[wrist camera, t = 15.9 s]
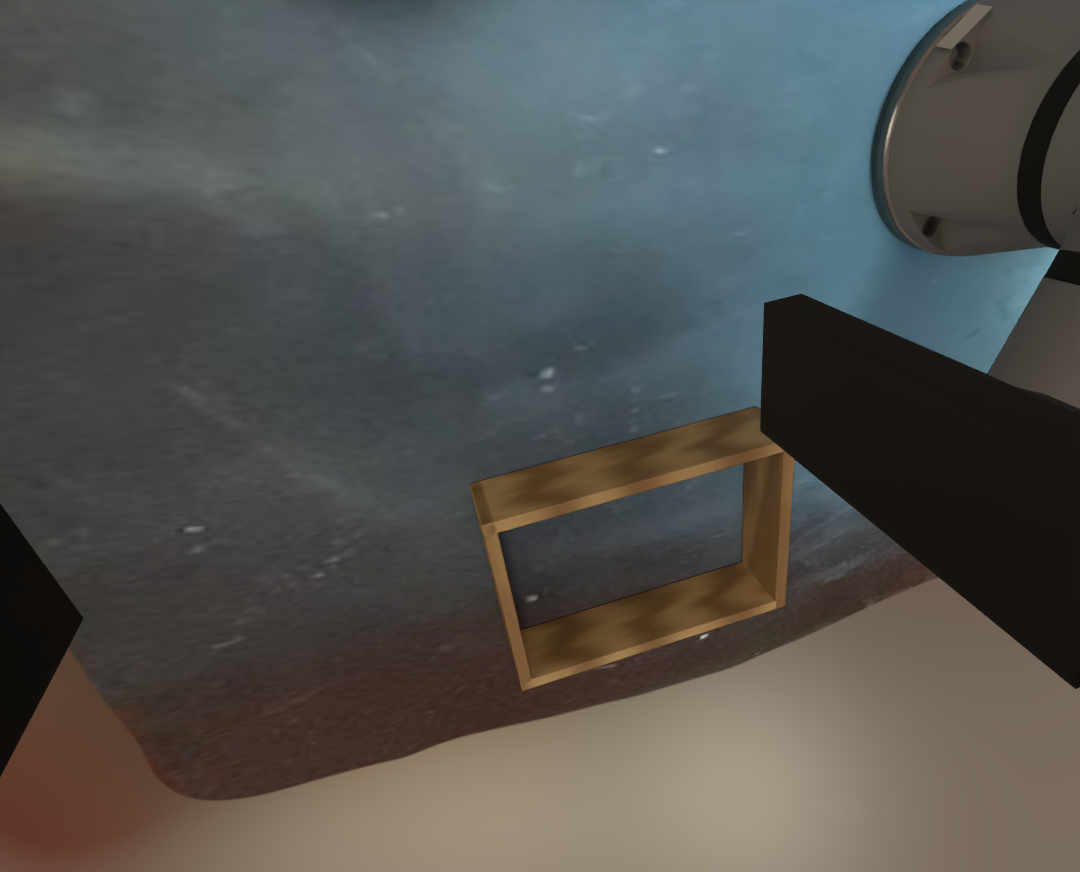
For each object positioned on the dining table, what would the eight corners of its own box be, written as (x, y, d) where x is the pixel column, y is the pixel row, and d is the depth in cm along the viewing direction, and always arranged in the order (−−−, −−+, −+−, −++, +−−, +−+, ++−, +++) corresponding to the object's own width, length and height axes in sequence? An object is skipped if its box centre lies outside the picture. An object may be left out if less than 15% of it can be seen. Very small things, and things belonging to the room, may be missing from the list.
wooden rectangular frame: (755, 406, 46) (796, 437, 42) (751, 566, 54) (785, 606, 50) (468, 483, 43) (481, 526, 39) (508, 641, 51) (522, 691, 47)
